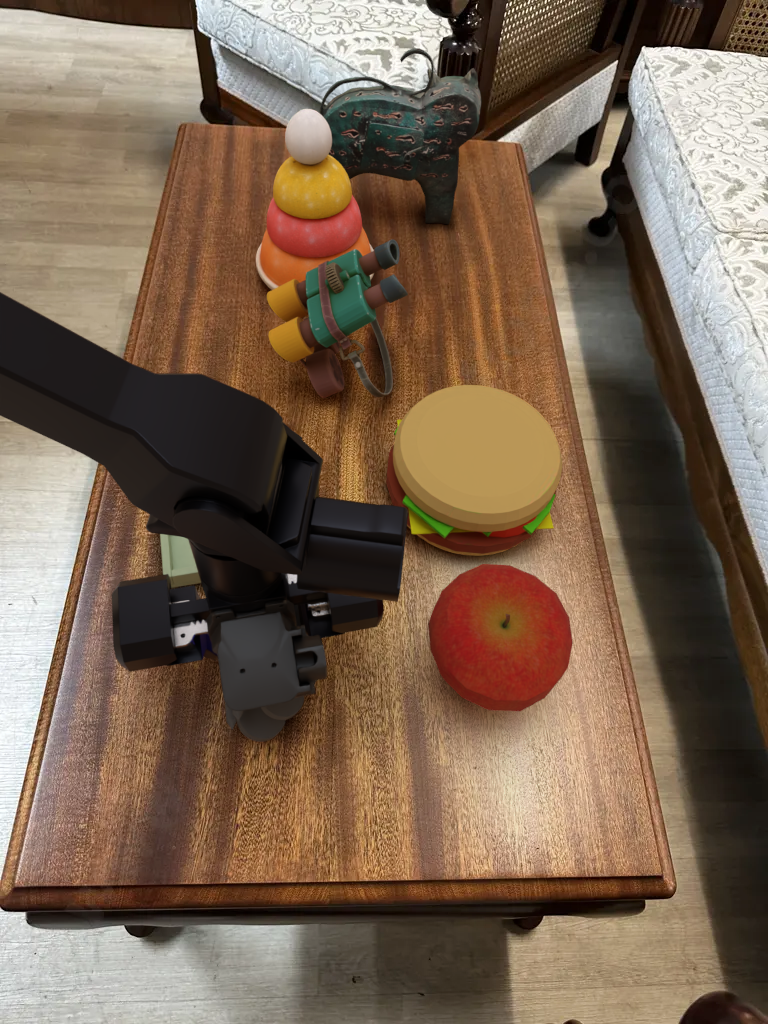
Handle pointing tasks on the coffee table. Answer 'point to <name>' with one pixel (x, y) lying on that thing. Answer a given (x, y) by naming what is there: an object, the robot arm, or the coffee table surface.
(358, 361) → the binoculars
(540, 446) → the hamburger
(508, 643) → the apple
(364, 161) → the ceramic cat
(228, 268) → the coffee table surface
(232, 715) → the character figurine
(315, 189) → the stacking toy
